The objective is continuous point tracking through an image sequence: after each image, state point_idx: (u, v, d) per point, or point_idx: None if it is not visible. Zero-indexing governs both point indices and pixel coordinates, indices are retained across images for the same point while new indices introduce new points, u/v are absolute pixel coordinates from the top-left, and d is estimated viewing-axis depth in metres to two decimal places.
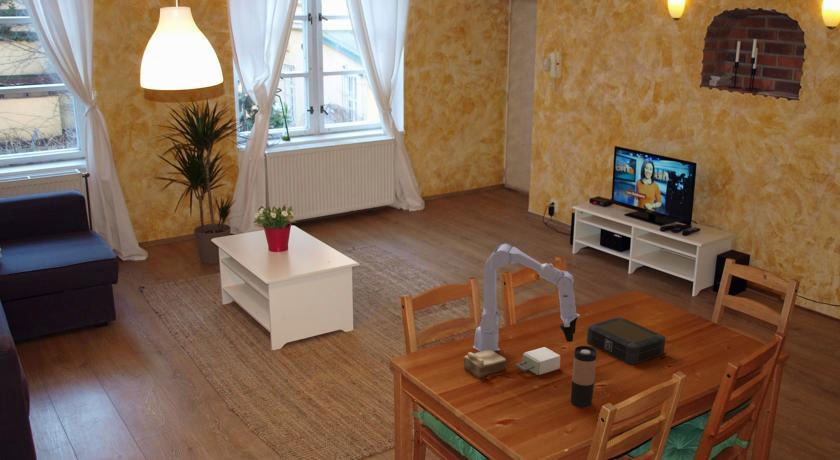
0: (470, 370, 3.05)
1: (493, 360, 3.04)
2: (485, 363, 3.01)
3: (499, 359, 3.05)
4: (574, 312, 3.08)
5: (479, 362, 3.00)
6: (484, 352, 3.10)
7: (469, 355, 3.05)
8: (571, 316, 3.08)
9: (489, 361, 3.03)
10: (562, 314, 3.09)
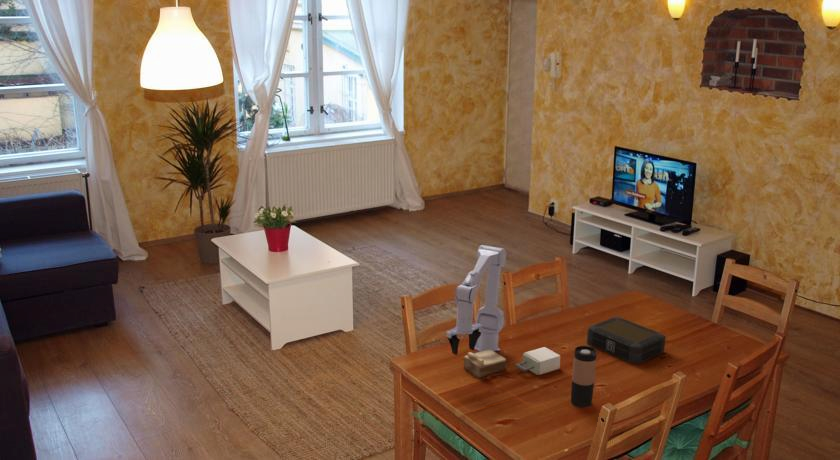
0: (470, 370, 3.05)
1: (493, 360, 3.04)
2: (485, 363, 3.01)
3: (499, 359, 3.05)
4: (465, 327, 2.93)
5: (479, 362, 3.00)
6: (484, 352, 3.10)
7: (469, 355, 3.05)
8: (460, 330, 2.94)
9: (489, 361, 3.03)
10: None
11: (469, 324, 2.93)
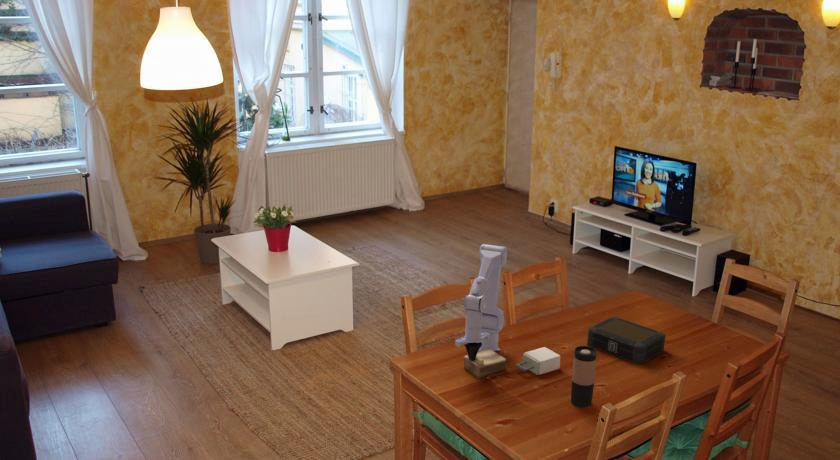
0: (470, 370, 3.05)
1: (493, 360, 3.04)
2: (485, 363, 3.01)
3: (499, 359, 3.05)
4: (474, 336, 2.97)
5: (479, 362, 3.00)
6: (484, 352, 3.10)
7: None
8: (469, 339, 2.97)
9: (489, 361, 3.03)
10: None
11: (478, 333, 2.97)
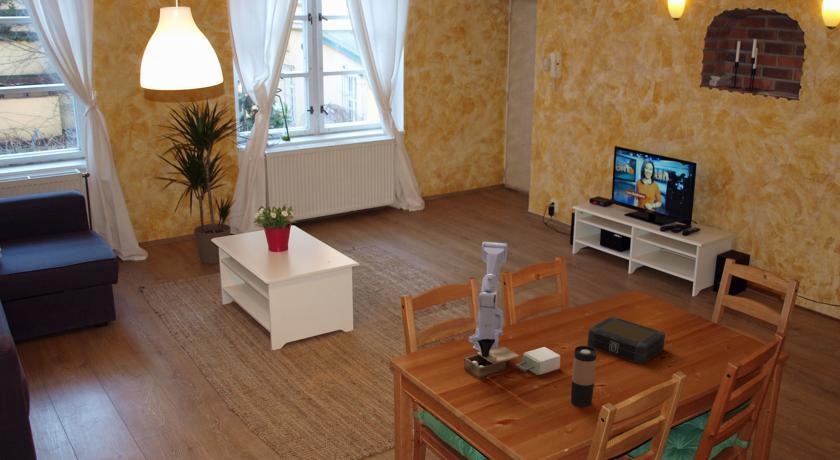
0: (470, 370, 3.05)
1: (506, 356, 3.07)
2: (498, 359, 3.04)
3: (512, 355, 3.08)
4: (487, 333, 3.00)
5: (492, 358, 3.04)
6: (497, 348, 3.13)
7: None
8: (483, 335, 3.01)
9: (502, 357, 3.06)
10: None
11: (491, 329, 3.00)
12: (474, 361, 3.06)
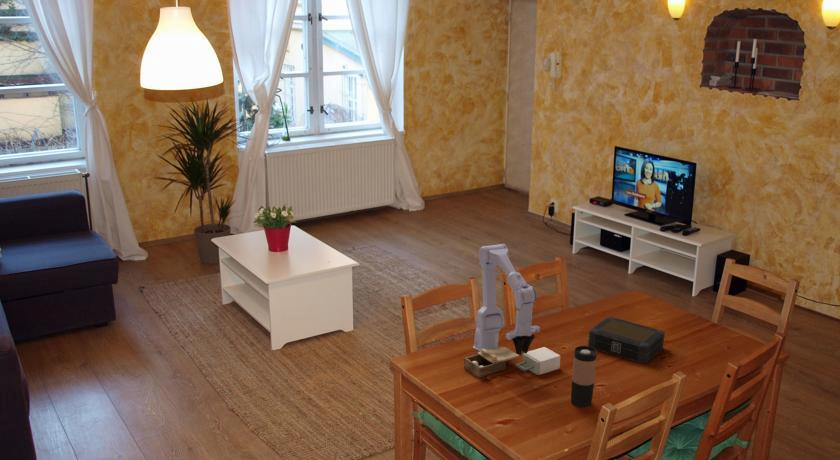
0: (470, 370, 3.05)
1: (506, 356, 3.07)
2: (498, 359, 3.05)
3: (512, 355, 3.08)
4: (525, 329, 2.95)
5: (492, 358, 3.04)
6: (497, 348, 3.13)
7: (482, 351, 3.08)
8: (520, 332, 2.96)
9: (502, 357, 3.06)
10: None
11: (528, 326, 2.96)
12: (474, 361, 3.06)
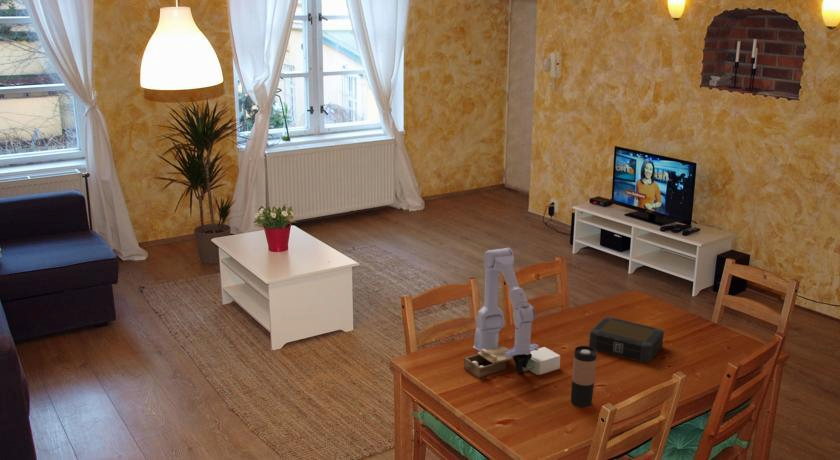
0: (470, 370, 3.05)
1: None
2: (498, 359, 3.05)
3: None
4: (523, 348, 2.97)
5: (492, 358, 3.04)
6: (497, 348, 3.13)
7: (482, 351, 3.08)
8: (519, 350, 2.98)
9: (502, 357, 3.06)
10: None
11: (527, 345, 2.98)
12: (474, 361, 3.06)
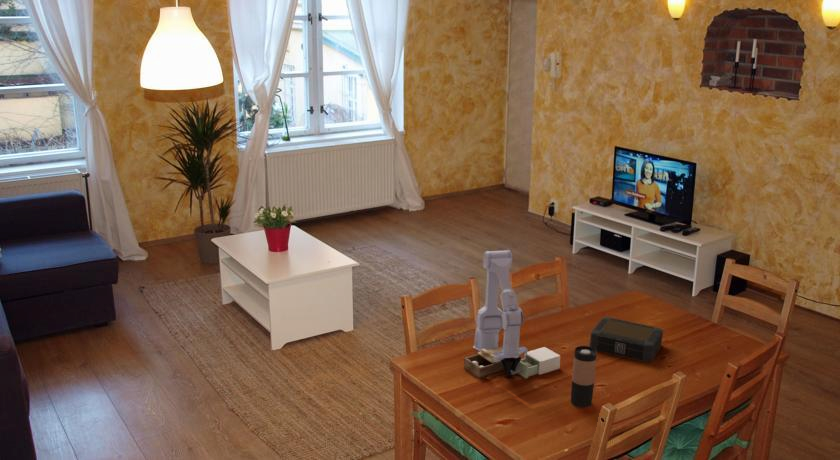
0: (470, 370, 3.05)
1: None
2: None
3: None
4: (512, 351, 2.95)
5: (492, 358, 3.04)
6: (497, 348, 3.13)
7: (482, 351, 3.08)
8: (507, 354, 2.95)
9: None
10: None
11: (516, 348, 2.95)
12: (474, 361, 3.06)
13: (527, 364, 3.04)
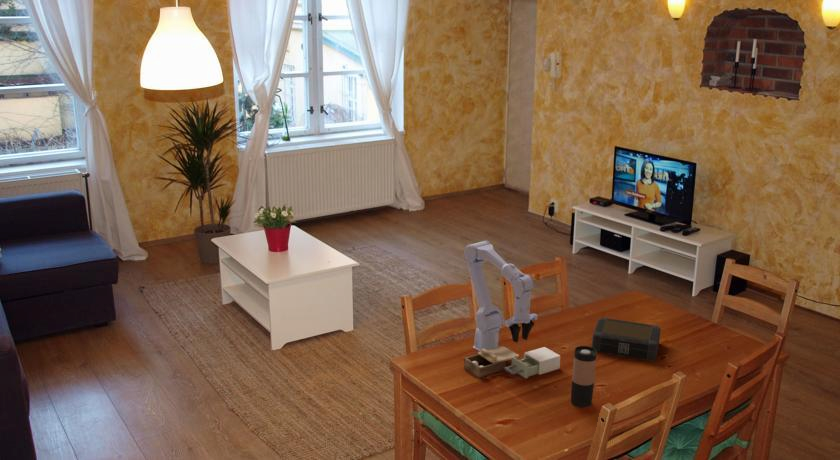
0: (470, 370, 3.05)
1: (506, 356, 3.07)
2: (498, 359, 3.05)
3: (512, 355, 3.08)
4: (523, 317, 3.04)
5: (492, 358, 3.04)
6: (497, 348, 3.13)
7: (482, 351, 3.08)
8: (518, 319, 3.04)
9: (502, 357, 3.06)
10: None
11: (527, 313, 3.04)
12: (474, 361, 3.06)
13: (527, 364, 3.04)
